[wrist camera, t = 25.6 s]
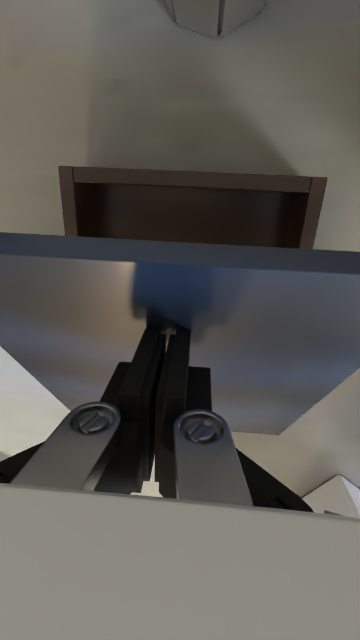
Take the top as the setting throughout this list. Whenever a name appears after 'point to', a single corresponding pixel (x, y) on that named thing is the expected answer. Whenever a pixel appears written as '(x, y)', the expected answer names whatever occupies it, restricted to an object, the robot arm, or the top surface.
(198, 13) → the grey octagonal hollow piece
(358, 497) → the medicine bottle
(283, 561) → the robot arm
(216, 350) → the lid
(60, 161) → the top surface
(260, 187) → the brown tray
